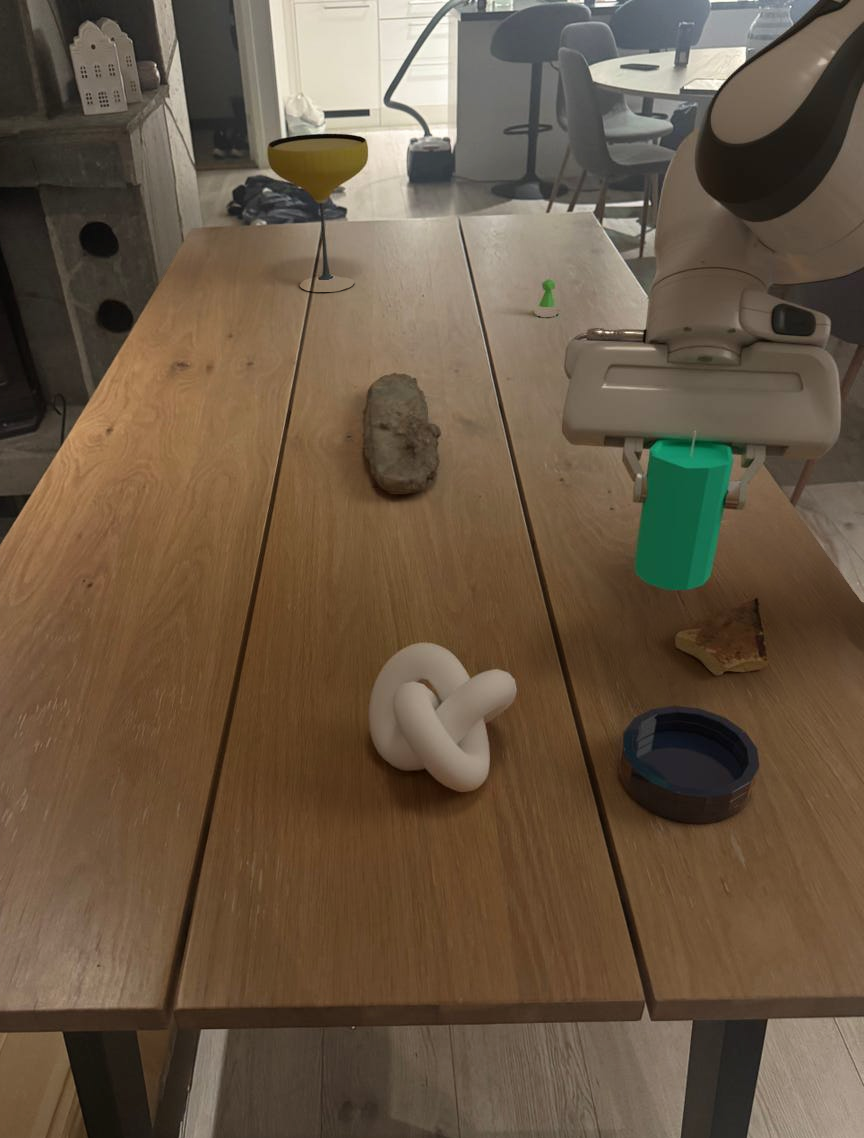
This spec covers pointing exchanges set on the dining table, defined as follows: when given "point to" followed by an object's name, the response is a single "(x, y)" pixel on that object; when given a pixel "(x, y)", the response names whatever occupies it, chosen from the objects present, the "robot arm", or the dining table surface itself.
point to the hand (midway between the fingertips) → (688, 504)
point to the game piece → (548, 294)
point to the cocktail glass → (318, 167)
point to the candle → (682, 512)
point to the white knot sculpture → (437, 715)
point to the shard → (727, 640)
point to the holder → (688, 764)
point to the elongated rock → (399, 435)
